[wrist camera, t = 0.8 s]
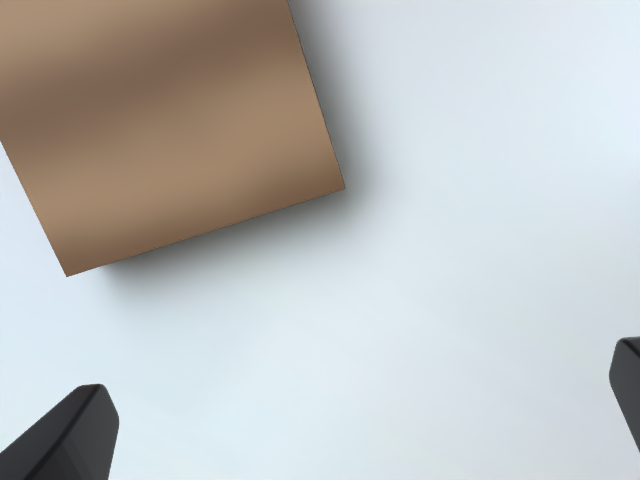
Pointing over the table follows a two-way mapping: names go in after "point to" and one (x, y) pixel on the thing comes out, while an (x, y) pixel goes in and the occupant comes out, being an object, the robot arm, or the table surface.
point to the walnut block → (157, 120)
